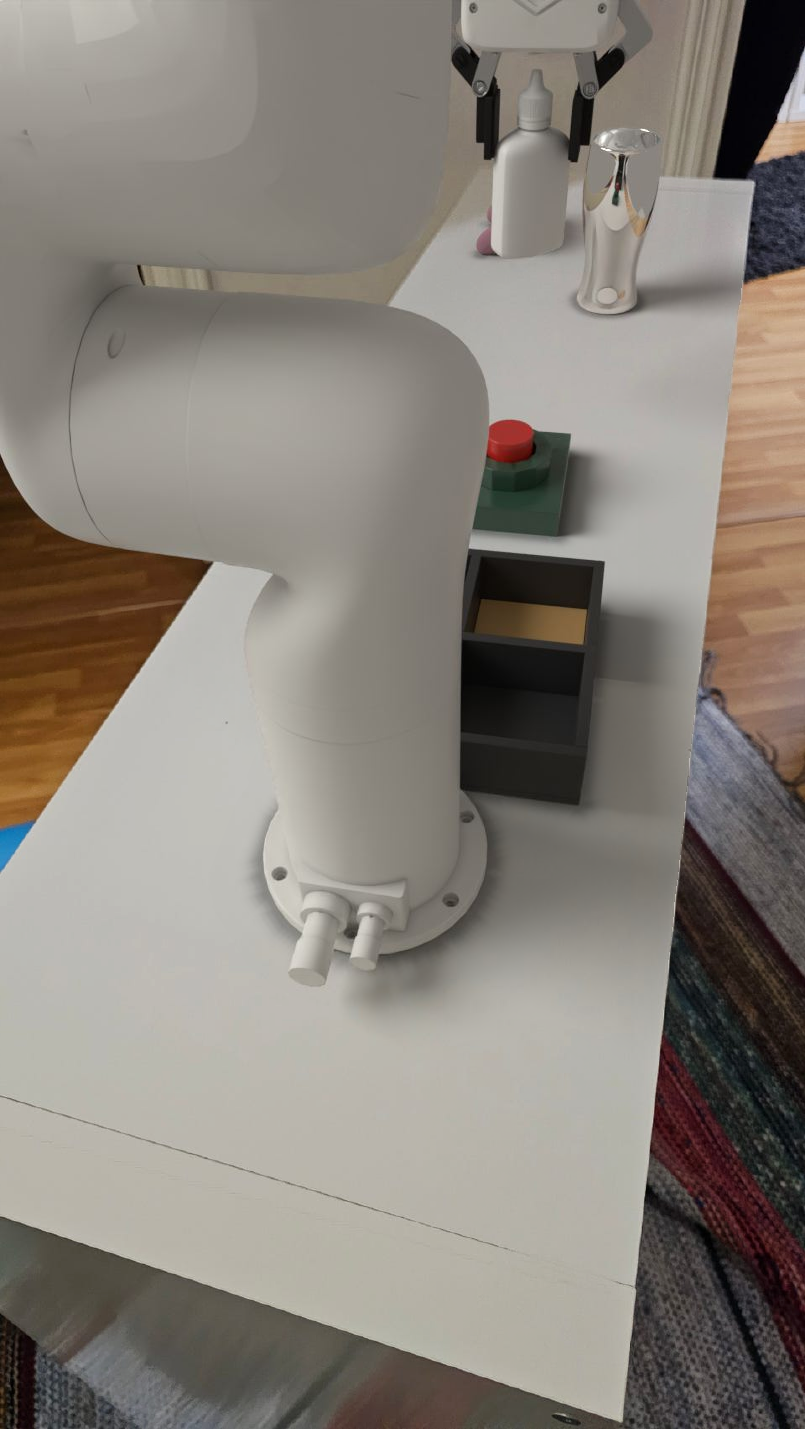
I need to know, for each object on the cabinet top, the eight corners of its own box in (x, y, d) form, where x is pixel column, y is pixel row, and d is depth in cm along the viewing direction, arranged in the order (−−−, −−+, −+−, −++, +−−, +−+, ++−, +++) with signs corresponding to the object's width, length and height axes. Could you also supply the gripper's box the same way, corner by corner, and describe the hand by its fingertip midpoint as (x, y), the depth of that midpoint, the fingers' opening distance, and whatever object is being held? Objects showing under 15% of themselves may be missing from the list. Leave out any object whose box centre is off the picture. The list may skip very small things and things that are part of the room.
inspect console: (557, 537, 73) (561, 493, 70) (440, 527, 75) (440, 483, 72) (568, 456, 80) (573, 413, 77) (462, 448, 82) (462, 405, 79)
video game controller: (507, 272, 107) (539, 214, 102) (471, 251, 106) (502, 192, 101) (518, 235, 114) (548, 179, 108) (484, 216, 113) (513, 158, 108)
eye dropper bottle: (492, 237, 77) (497, 62, 68) (563, 238, 76) (577, 61, 67) (489, 260, 74) (494, 80, 65) (563, 261, 73) (578, 79, 65)
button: (529, 466, 73) (531, 446, 72) (482, 463, 74) (483, 443, 73) (534, 440, 76) (536, 420, 74) (489, 437, 76) (490, 417, 75)
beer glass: (621, 281, 101) (642, 121, 90) (653, 309, 97) (679, 145, 86) (561, 293, 100) (575, 132, 89) (590, 322, 96) (609, 157, 84)
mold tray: (578, 806, 56) (587, 756, 53) (299, 768, 59) (289, 719, 56) (597, 611, 67) (605, 560, 64) (361, 587, 70) (356, 537, 67)
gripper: (397, -171, 56) (407, 170, 69) (701, -179, 53) (650, 177, 66) (420, -185, 61) (426, 135, 74) (699, -193, 58) (652, 141, 71)
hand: (532, 152), depth 70 cm, fingers closed on eye dropper bottle, 5 cm apart
